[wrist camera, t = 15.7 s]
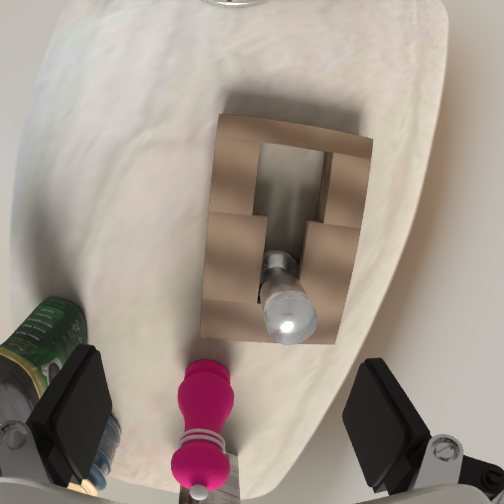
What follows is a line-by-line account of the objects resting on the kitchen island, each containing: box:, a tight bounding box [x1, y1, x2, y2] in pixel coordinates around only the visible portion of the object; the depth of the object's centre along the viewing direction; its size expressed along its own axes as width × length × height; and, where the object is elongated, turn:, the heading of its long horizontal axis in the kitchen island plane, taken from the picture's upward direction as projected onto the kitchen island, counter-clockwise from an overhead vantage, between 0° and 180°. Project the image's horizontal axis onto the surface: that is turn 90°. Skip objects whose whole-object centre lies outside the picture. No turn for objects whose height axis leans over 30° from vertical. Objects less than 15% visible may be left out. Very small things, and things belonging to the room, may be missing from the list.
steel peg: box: [258, 250, 318, 345], centre depth 31 cm, size 6×6×12 cm
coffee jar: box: [0, 298, 87, 424], centre depth 28 cm, size 10×8×19 cm
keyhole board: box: [200, 114, 373, 344], centre depth 33 cm, size 24×16×4 cm, turn 173°
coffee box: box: [179, 451, 240, 504], centre depth 38 cm, size 9×6×16 cm
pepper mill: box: [171, 360, 234, 500], centre depth 31 cm, size 7×7×20 cm
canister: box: [67, 415, 121, 497], centre depth 34 cm, size 13×13×18 cm
